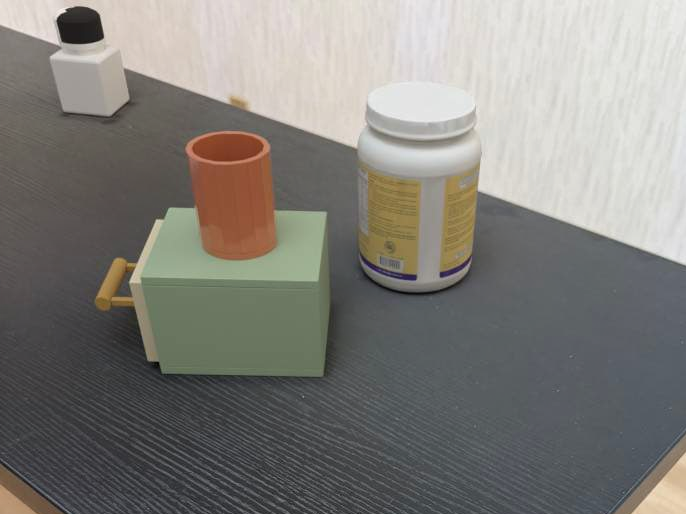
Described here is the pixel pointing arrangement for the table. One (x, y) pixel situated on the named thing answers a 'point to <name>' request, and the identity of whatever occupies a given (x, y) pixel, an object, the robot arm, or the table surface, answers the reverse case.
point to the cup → (233, 194)
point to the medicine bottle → (87, 65)
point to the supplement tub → (418, 185)
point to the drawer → (114, 282)
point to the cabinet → (240, 301)
